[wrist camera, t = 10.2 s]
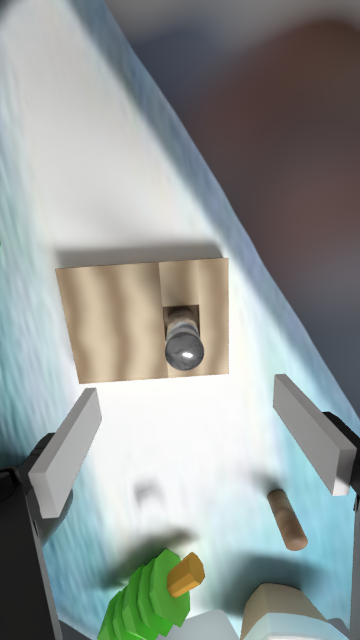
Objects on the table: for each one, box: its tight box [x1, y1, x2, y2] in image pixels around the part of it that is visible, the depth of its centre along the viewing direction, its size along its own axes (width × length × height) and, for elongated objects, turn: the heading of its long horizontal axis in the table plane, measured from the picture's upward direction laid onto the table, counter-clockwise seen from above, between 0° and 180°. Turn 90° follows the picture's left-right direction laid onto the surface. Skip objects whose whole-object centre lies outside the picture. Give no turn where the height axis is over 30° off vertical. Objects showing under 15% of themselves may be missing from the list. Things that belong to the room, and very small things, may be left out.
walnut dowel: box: [267, 490, 308, 551], centre depth 44 cm, size 4×4×8 cm
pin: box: [165, 307, 204, 371], centre depth 29 cm, size 4×4×13 cm
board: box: [55, 258, 229, 384], centre depth 35 cm, size 24×18×3 cm
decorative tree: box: [97, 548, 205, 640], centre depth 48 cm, size 11×12×30 cm
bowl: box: [240, 583, 349, 640], centre depth 52 cm, size 24×25×11 cm
